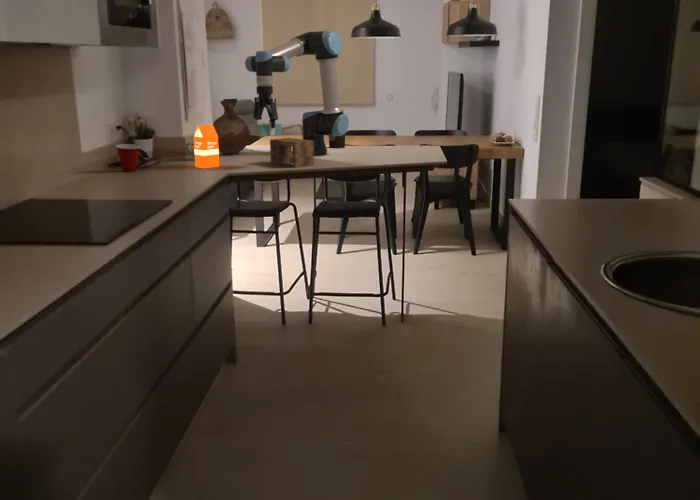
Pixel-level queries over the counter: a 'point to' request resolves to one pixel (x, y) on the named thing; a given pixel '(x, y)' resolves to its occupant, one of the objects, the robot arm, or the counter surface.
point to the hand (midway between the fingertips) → (265, 134)
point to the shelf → (292, 151)
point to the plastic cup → (128, 156)
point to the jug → (231, 130)
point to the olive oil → (337, 141)
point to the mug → (187, 148)
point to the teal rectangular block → (264, 129)
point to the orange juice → (206, 147)
